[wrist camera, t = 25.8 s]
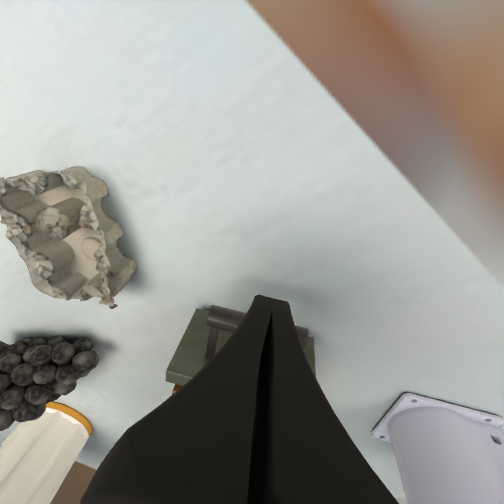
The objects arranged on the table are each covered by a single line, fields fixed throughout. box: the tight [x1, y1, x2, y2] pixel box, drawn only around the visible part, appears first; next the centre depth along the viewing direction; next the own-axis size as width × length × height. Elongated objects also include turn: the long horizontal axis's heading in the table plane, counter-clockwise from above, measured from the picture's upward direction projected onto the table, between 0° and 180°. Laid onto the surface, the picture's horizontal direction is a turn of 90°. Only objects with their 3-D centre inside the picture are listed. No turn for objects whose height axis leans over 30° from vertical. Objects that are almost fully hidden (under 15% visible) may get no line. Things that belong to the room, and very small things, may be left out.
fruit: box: [0, 336, 99, 431], centre depth 28 cm, size 9×8×15 cm
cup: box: [0, 402, 92, 504], centre depth 33 cm, size 11×11×17 cm
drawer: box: [166, 305, 316, 395], centre depth 23 cm, size 18×10×6 cm, turn 169°
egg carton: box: [0, 166, 136, 309], centre depth 21 cm, size 11×8×4 cm
